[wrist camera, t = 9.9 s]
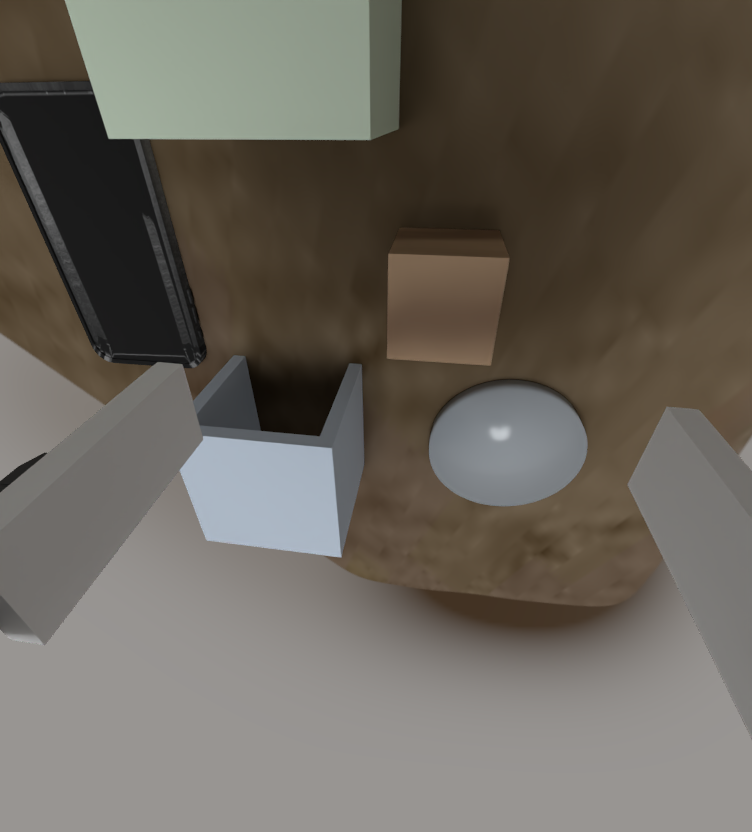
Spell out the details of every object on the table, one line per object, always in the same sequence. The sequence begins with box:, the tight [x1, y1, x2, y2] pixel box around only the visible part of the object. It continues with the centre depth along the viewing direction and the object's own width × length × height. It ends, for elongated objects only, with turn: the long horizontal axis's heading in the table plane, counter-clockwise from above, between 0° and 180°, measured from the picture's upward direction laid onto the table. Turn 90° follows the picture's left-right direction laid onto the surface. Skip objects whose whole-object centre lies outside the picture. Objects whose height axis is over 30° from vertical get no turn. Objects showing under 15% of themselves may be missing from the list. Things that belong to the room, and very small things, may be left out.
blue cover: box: [180, 355, 364, 557], centre depth 27 cm, size 9×9×8 cm
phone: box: [0, 81, 207, 368], centre depth 24 cm, size 8×1×15 cm
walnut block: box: [387, 227, 510, 366], centre depth 21 cm, size 5×5×5 cm
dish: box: [429, 380, 588, 506], centre depth 28 cm, size 10×10×1 cm
